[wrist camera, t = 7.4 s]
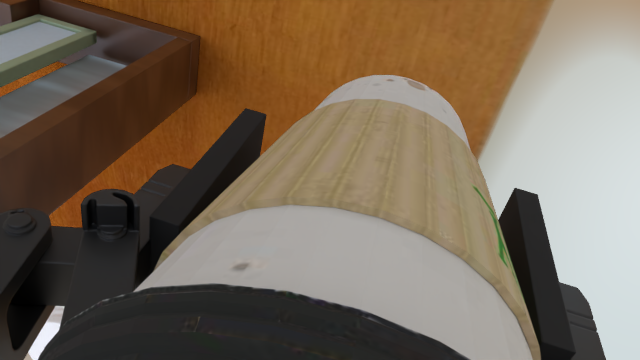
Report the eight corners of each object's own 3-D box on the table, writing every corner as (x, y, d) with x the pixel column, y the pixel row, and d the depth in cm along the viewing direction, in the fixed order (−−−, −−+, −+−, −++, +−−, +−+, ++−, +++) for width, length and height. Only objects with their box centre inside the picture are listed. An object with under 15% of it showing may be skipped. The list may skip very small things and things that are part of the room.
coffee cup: (372, 284, 23) (273, 760, 11) (217, 131, 21) (-138, 513, 8) (576, 174, 18) (824, 819, 6) (402, -43, 16) (202, 266, 4)
